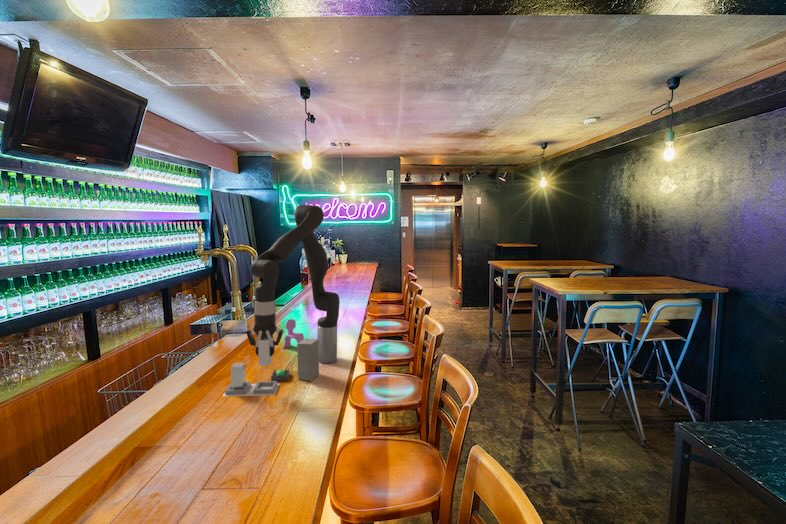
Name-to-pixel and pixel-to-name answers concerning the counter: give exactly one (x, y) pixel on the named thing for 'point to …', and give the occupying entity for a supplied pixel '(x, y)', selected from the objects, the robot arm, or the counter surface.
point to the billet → (264, 352)
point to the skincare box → (308, 359)
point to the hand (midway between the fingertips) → (265, 355)
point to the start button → (280, 372)
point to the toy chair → (292, 333)
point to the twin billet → (238, 376)
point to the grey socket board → (254, 389)
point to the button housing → (280, 376)
